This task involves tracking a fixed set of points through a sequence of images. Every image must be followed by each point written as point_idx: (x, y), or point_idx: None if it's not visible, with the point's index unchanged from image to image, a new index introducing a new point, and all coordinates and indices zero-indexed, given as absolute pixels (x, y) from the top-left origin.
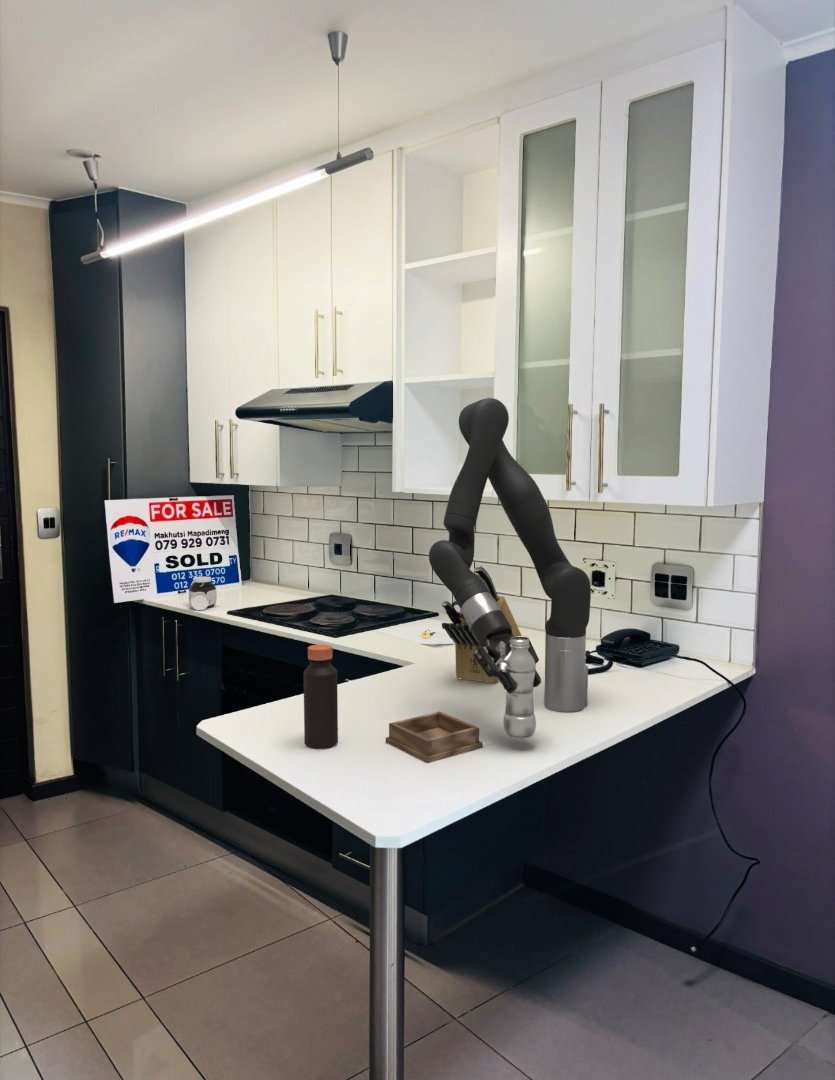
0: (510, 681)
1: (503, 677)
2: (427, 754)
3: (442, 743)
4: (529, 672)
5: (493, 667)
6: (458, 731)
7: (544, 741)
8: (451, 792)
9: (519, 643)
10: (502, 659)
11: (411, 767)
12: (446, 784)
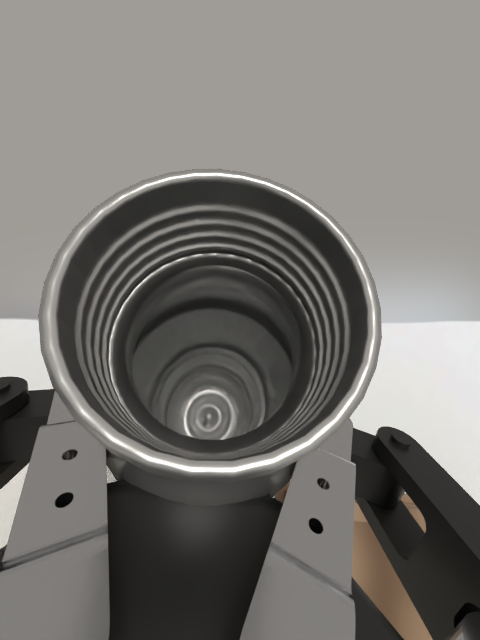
0: None
1: None
2: None
3: (415, 507)
4: (232, 306)
5: (416, 447)
6: (364, 519)
7: None
8: (448, 357)
9: (315, 249)
10: (340, 457)
11: None
12: (443, 385)
